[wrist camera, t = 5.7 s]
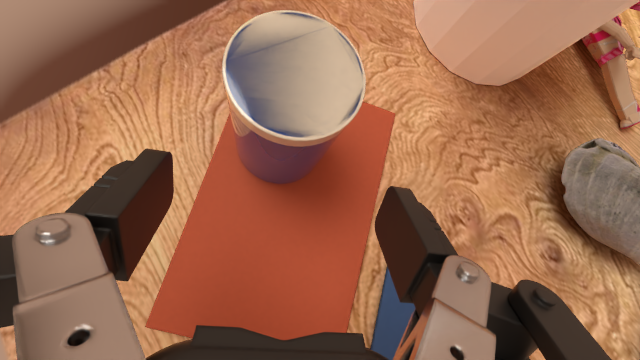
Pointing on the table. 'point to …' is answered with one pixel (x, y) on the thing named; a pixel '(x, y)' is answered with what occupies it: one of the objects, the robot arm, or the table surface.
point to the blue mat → (390, 320)
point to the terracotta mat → (277, 240)
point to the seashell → (605, 194)
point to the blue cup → (290, 92)
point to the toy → (616, 66)
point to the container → (507, 33)
